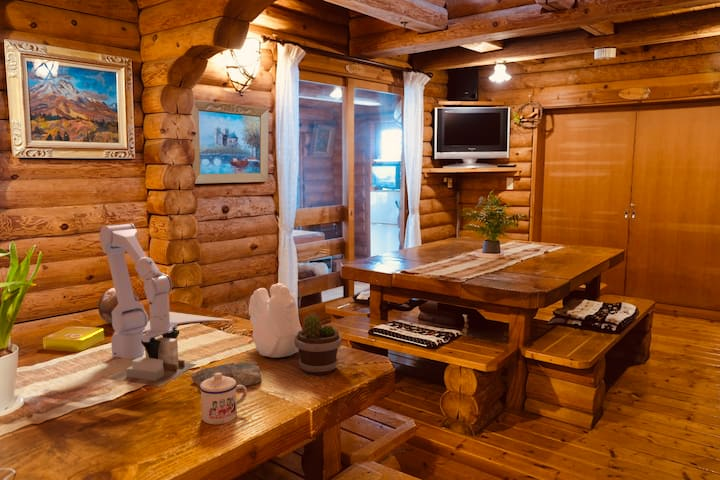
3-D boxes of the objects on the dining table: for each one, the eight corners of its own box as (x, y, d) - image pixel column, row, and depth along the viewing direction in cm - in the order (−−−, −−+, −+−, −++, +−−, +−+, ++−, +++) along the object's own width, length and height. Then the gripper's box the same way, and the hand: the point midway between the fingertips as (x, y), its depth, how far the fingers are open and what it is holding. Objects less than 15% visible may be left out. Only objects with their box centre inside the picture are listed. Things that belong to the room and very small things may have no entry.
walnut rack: (108, 382, 167) (107, 372, 166) (148, 361, 184) (148, 352, 183) (160, 389, 161) (160, 379, 161) (196, 367, 178) (196, 358, 178)
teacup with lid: (208, 429, 138) (206, 383, 136) (196, 414, 146) (194, 371, 144) (254, 416, 145) (252, 373, 143) (240, 403, 152) (239, 362, 151)
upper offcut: (132, 369, 167) (131, 361, 167) (140, 364, 171) (140, 356, 170) (155, 372, 165) (154, 363, 165) (163, 367, 168) (162, 359, 168)
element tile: (107, 339, 207) (106, 326, 206) (80, 353, 192) (79, 339, 192) (70, 336, 210) (69, 324, 209) (40, 350, 195) (39, 337, 194)
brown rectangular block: (146, 366, 176) (144, 338, 175) (151, 363, 179) (149, 335, 178) (173, 369, 174) (172, 341, 172) (178, 367, 176) (177, 339, 175)
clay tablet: (193, 396, 158) (265, 385, 164) (192, 380, 157) (264, 369, 164) (190, 379, 171) (256, 369, 178) (189, 363, 170) (255, 354, 177)
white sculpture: (312, 358, 187) (311, 284, 183) (267, 367, 179) (265, 290, 175) (282, 337, 208) (280, 270, 204) (240, 344, 200) (238, 275, 196)
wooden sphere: (91, 329, 217) (88, 290, 215) (112, 318, 232) (110, 282, 230) (128, 330, 216) (126, 292, 213) (147, 319, 230) (145, 283, 228)
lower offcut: (126, 376, 168) (126, 368, 168) (135, 371, 172) (135, 363, 172) (155, 380, 165) (154, 372, 165) (163, 375, 169) (163, 367, 169)
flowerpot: (314, 357, 187) (313, 298, 184) (352, 367, 178) (352, 305, 175) (284, 371, 175) (283, 308, 172) (322, 382, 167) (322, 316, 164)
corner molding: (232, 323, 230) (162, 314, 233) (232, 319, 229) (162, 310, 233) (201, 355, 201) (122, 344, 205) (201, 351, 200) (122, 340, 204)
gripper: (155, 322, 166) (158, 367, 168) (184, 309, 179) (186, 351, 181) (135, 320, 168) (137, 364, 170) (165, 308, 181) (167, 348, 183)
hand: (161, 357), depth 176 cm, fingers open, 7 cm apart
